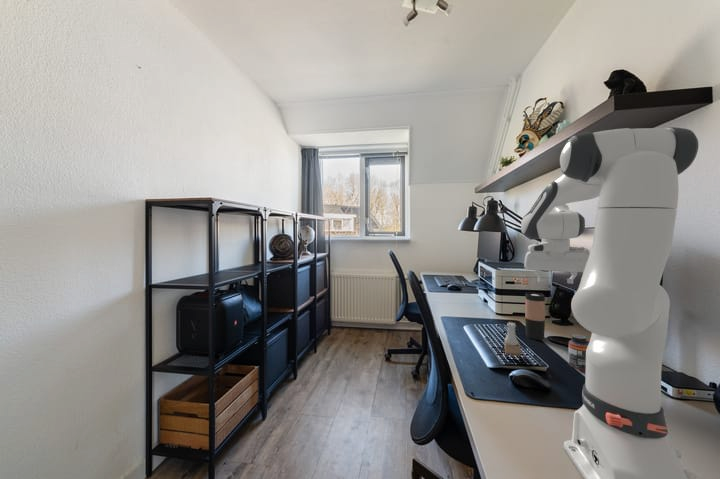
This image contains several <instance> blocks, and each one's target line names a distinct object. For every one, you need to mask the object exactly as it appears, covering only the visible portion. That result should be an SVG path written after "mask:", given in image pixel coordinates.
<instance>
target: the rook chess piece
mask: <svg viewBox="0 0 720 479" xmlns="http://www.w3.org/2000/svg"><path fill="white" fill-rule="evenodd" d="M506 326H507V333H506V337H505V338H504V340H506V341H505V343H506V344H508V345H512V346H516V345H517V344H518V343H517V342H519V341H518V339H517V337H516V336H517V335H516V327H517V325H516V322H512V321H509V322H507V324H506Z"/></svg>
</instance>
